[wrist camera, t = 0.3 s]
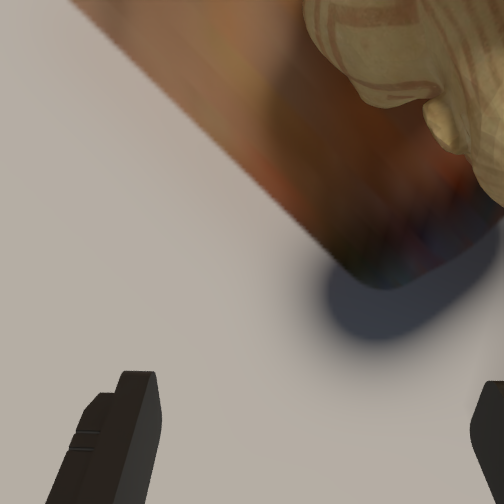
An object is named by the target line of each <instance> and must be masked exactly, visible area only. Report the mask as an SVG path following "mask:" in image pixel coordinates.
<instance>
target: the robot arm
mask: <svg viewBox="0 0 504 504" xmlns="http://www.w3.org/2000/svg"><path fill="white" fill-rule="evenodd" d="M161 425H162V412H161V406H160V398H159V392H158V385H157V379H156V375H155V372H154V371H153V372H152V371H124V372H123V373H122V374H121V376H120V379H119V382H118V384H117V387H116V390H115V393H99V394H98V395H97V396H96V397H95V399H94V400H93V401H92V402H91V403H90V404H89V405H88V406H87V407H86V409H85V410H84V412H83V414H82V417H81V419H80V421H79V424H78V426H77V428H76V434H74V436H73V438H72V441H71V443H70V445H69V451H67V453H66V455H65V457H64V460H63V462H62V465H61V467H60V469H59V472H58V474H57V477H56V479H55V482H54V484H53V486H52V489H51V491H50V494H49V496H48V498H47V501H46V503H45V504H145V500H146V496H147V492H148V487H149V483H150V479H151V474H152V470H153V465H154V461H155V457H156V453H157V448H158V444H159V439H160V434H161ZM470 438H471V443H472V447H473V449H474V452H475V454H476V457H477V459H478V462H479V464H480V466H481V469H482V471H483V474H484V476H485V478H486V481H487V483H488V486H489V488H490V491H491V493H492V495H493V497H494V500H495V503H496V504H504V381H487V382H486V383H485V385H484V387H483V390H482V392H481V395H480V398H479V401H478V403H477V406H476V409H475V412H474V414H473V417H472V419H471V423H470Z"/></svg>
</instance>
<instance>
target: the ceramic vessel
mask: <svg viewBox="0 0 504 504" xmlns="http://www.w3.org/2000/svg"><path fill="white" fill-rule="evenodd" d="M302 9H303V18H304V21H305V25H306V28H307V31H308V33H309V35H310V37H311V39H312V41H313V42H314V44H315V45H316V47H317V48H318V49H319V51H320V52H321V53H322V54H323V55H324V56H325V57H326V58H327V59H328V61H329V62H331V63H332V64H333V65H334V66H335V67H336V68H337V69H339V70H340V71H341V72H342V73H344V74H345V75H346V76H347V77H348V78H349V80H350V82H351V83H352V85H353V86H354V88H355V89H356V90H357V92H358V93H359V95H360V98H361V99H362V100H363V101H364V102H366V103H367V104H369V105H372V106H374V107H378V108H386V109H387V108H392V107H397V106H400V105H402V104H405V103H407V102H410V101H412V100H415V99H430V100H428V101H427V102H426V103H425V104H423V108H422V111H423V117H424V119H425V121H426V124H427V126H428V128H429V130H430V131H431V133H432V135H433V137H434V139H435V140H436V141H437V142H438V143H439V145H440V146H441V147H442V148H443V149H444V150H445V151H447V152H450V153H453V154H456V155H459V154H464V155H465V157H466V159H467V160H468V161H469V163H470V164H471V165H472V166H473V171H474V173H475V175H476V178H477V180H478V182H479V184H480V186H481V187H482V188H483V189H484V190H485V192H486V193H487V194H488V195H489V196H490V197H491V198H492V199H493V200H494V201H496V202H497V203H498V204H500V205H501V206H502V207H504V0H303V8H302Z"/></svg>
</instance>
